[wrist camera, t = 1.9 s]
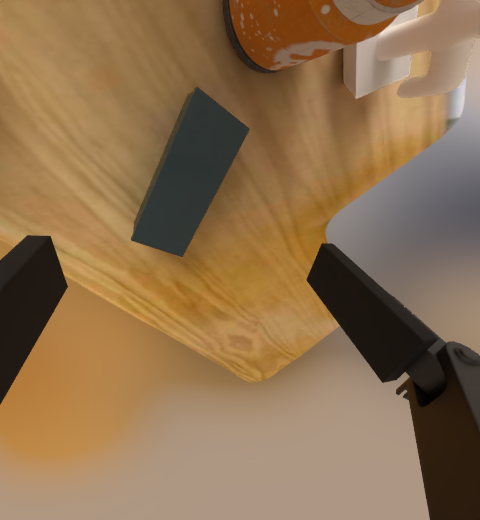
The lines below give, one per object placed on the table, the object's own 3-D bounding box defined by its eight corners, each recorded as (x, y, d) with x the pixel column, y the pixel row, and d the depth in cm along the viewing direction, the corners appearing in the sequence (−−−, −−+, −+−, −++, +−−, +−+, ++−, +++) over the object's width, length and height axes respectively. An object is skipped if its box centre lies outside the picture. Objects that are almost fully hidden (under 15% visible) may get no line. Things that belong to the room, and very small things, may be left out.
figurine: (334, 111, 28) (470, 106, 16) (330, 5, 22) (536, -121, 11) (381, 90, 29) (545, 71, 17) (389, -18, 23) (645, -160, 11)
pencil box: (187, 92, 22) (196, 86, 18) (233, 127, 25) (250, 129, 21) (133, 222, 27) (130, 240, 23) (177, 238, 30) (182, 257, 26)
